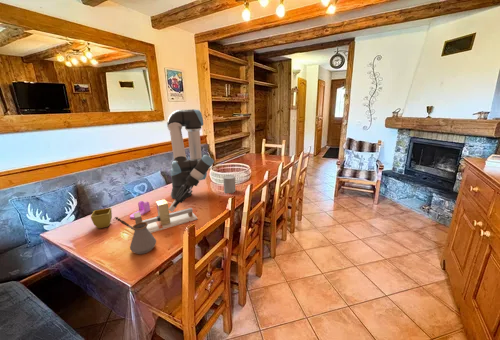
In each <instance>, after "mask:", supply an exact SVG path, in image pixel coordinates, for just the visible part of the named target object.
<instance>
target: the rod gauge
mask: <svg viewBox="0 0 500 340" xmlns="http://www.w3.org/2000/svg"><path fill="white" fill-rule="evenodd" d="M133 213H134V217H135V219H134V222H135V224H137V223H141V222H146V223H147V224H148V225H147V229H148V230H149V231H150V233H151V234H153V233H155V232H159V231H162V230H166V229H169V228H172V227H175V226H179V225H182V224H186V223H189V221H190V222H192V221H196V220H198V217H197V215H196V214H195V213H194V209H193V208H192V207H189V208H185V209H181V210H177V211H173V212H169V216H170V223H167V224H164V225H161V223H160V217H159V216H158V215H157V216H155V217H150V218H148V219H147V218H146V219H144V220H143V218H142V216H141V214H140V212H138V213H135V212H133Z"/></svg>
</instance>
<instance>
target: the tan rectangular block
mask: <svg viewBox="0 0 500 340" xmlns="http://www.w3.org/2000/svg"><path fill="white" fill-rule="evenodd" d="M155 204H156V210H157V216H159V217H160V223H161V225H164V224H167V223H170V216H169V213H170V210H169V209H168V208H169V203H168V201H167V200H166V199H165V198H163V199H161V200H156V201H155Z"/></svg>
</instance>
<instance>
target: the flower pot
mask: <svg viewBox="0 0 500 340" xmlns="http://www.w3.org/2000/svg"><path fill="white" fill-rule="evenodd" d="M112 217H113V213H112V207H108V208H102V209H96V210H93V212H92V213H91V215H90V219H91V221H92V223H93V225H94V226H95V227H96V228H97V229H104V228H107V227H109V226H110V224H111V222H112Z"/></svg>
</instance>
